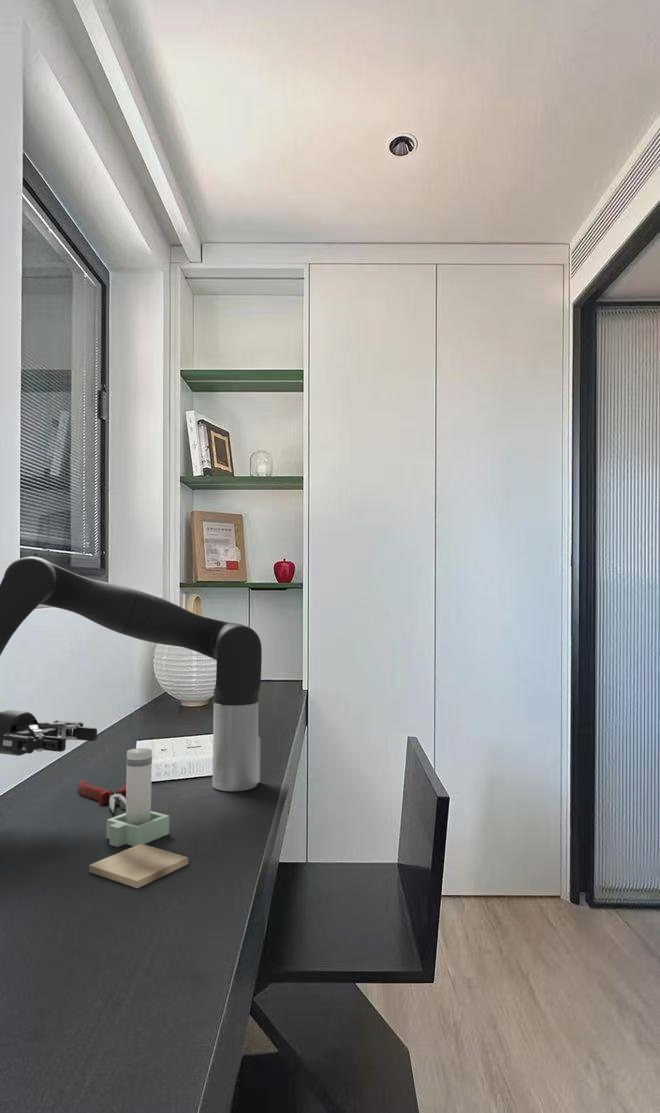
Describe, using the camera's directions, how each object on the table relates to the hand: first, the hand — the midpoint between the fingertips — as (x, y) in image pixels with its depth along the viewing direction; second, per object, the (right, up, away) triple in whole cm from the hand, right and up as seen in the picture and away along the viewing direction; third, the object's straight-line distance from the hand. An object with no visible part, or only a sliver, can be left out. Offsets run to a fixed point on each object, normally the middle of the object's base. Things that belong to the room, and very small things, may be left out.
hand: (80, 739), depth 121 cm
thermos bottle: (+11, -15, -4) cm, 19 cm away
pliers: (-1, -16, +16) cm, 23 cm away
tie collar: (+11, -15, -4) cm, 19 cm away
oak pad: (+14, -15, -17) cm, 26 cm away
